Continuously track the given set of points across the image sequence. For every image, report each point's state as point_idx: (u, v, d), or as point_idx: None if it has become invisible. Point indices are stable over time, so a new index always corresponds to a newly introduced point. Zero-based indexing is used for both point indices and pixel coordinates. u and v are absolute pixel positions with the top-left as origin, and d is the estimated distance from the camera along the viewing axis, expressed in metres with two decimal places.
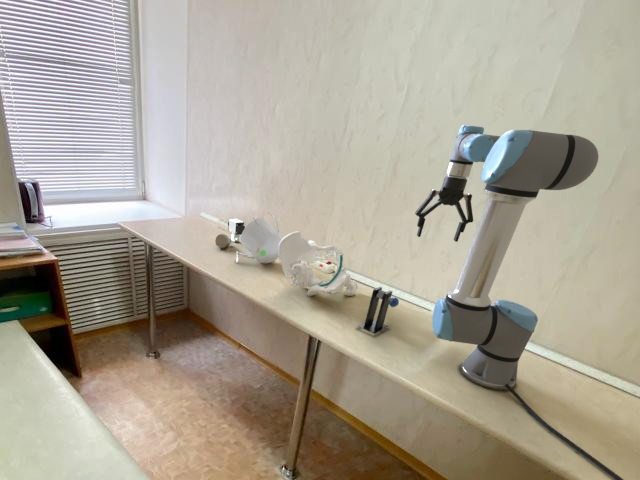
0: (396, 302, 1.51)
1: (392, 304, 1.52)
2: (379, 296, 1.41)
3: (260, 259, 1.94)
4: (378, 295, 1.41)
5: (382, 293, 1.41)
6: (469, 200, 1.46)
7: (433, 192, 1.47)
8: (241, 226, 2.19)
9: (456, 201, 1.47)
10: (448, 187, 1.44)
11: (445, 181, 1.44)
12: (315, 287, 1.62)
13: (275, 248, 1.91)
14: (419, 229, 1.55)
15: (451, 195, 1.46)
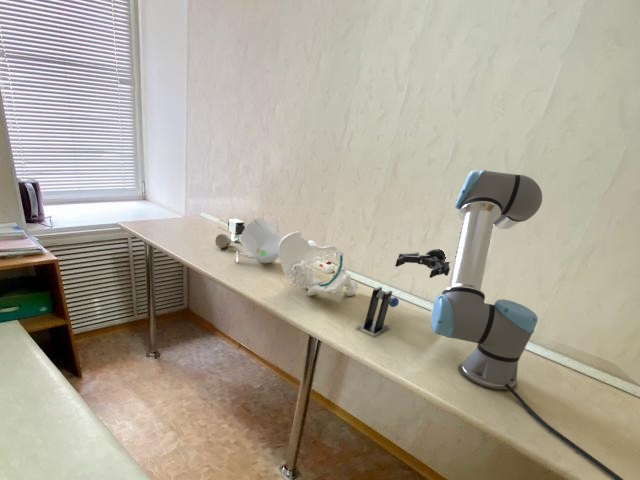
0: (396, 302, 1.51)
1: (392, 304, 1.52)
2: (379, 296, 1.41)
3: (260, 259, 1.94)
4: (378, 295, 1.41)
5: (382, 293, 1.41)
6: (447, 262, 1.58)
7: None
8: (241, 226, 2.19)
9: (435, 258, 1.60)
10: (430, 250, 1.64)
11: None
12: (315, 287, 1.62)
13: (275, 248, 1.91)
14: None
15: (431, 257, 1.62)
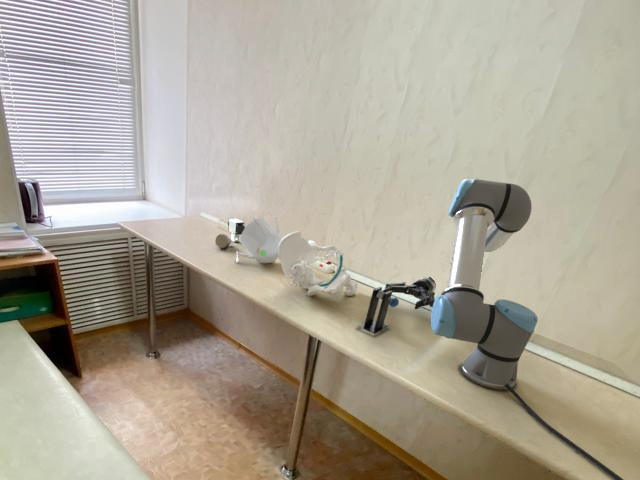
0: (396, 302, 1.51)
1: (392, 304, 1.52)
2: (379, 296, 1.41)
3: (260, 259, 1.94)
4: (378, 295, 1.41)
5: (382, 293, 1.41)
6: (432, 293, 1.61)
7: (403, 282, 1.69)
8: (241, 226, 2.19)
9: (421, 289, 1.63)
10: None
11: None
12: (315, 287, 1.62)
13: (275, 248, 1.91)
14: None
15: (418, 288, 1.65)
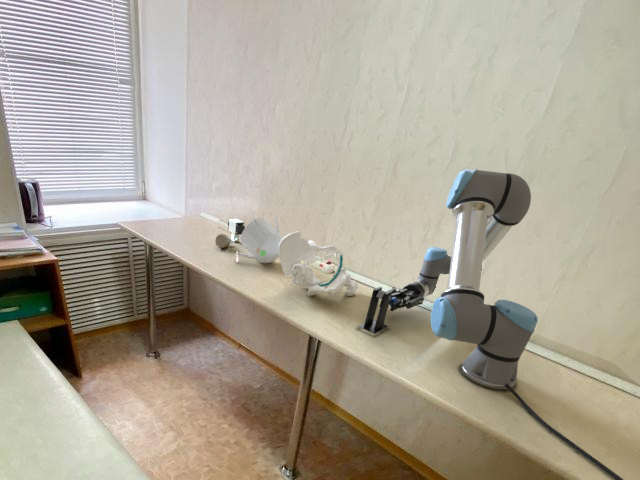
0: None
1: None
2: (379, 296, 1.41)
3: (260, 259, 1.94)
4: (378, 295, 1.41)
5: (382, 293, 1.41)
6: (419, 298, 1.55)
7: (393, 287, 1.62)
8: (241, 226, 2.19)
9: (410, 292, 1.58)
10: None
11: None
12: (315, 287, 1.62)
13: (275, 248, 1.91)
14: None
15: (409, 292, 1.60)
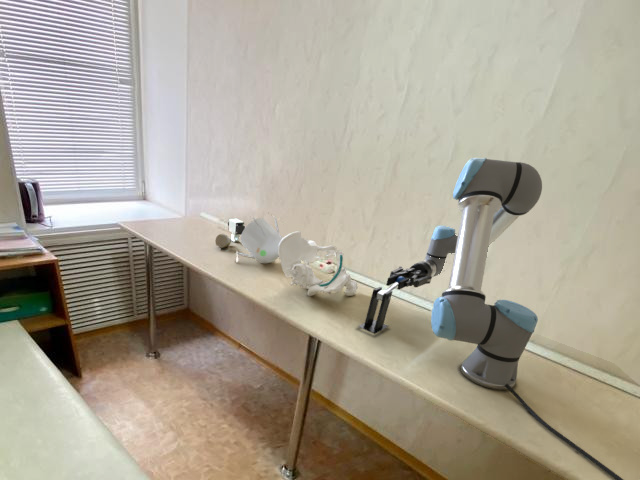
0: None
1: None
2: (379, 298, 1.42)
3: (260, 259, 1.94)
4: (378, 297, 1.42)
5: (381, 295, 1.41)
6: (427, 276, 1.51)
7: (400, 267, 1.58)
8: (241, 226, 2.19)
9: (418, 271, 1.54)
10: (414, 264, 1.58)
11: None
12: (315, 287, 1.62)
13: (275, 248, 1.91)
14: None
15: (416, 271, 1.56)
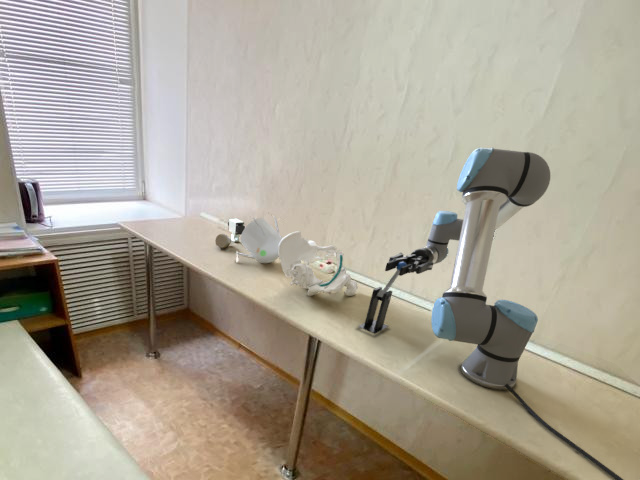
0: None
1: None
2: (379, 299, 1.42)
3: (260, 259, 1.94)
4: (378, 298, 1.43)
5: (380, 298, 1.41)
6: (429, 263, 1.46)
7: (400, 253, 1.53)
8: (241, 226, 2.19)
9: (419, 258, 1.49)
10: (415, 250, 1.53)
11: None
12: (315, 287, 1.62)
13: (275, 248, 1.91)
14: None
15: (417, 257, 1.51)
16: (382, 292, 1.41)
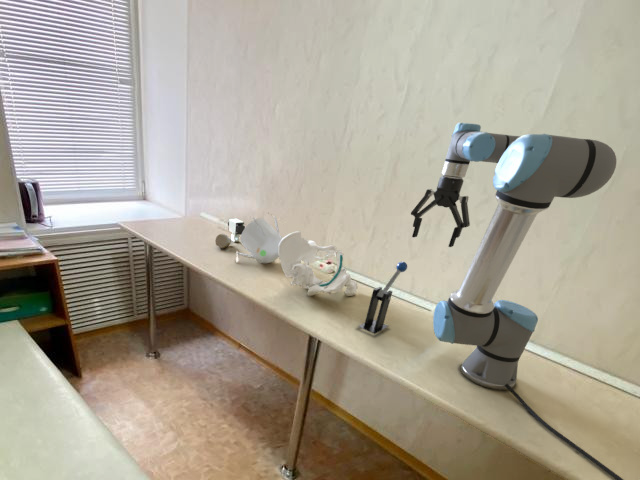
0: (404, 269, 1.43)
1: None
2: (379, 299, 1.42)
3: (260, 259, 1.94)
4: (378, 298, 1.43)
5: (380, 298, 1.41)
6: (463, 203, 1.37)
7: (427, 191, 1.43)
8: (241, 226, 2.19)
9: (448, 202, 1.39)
10: (438, 186, 1.39)
11: (439, 181, 1.40)
12: (315, 287, 1.62)
13: (275, 248, 1.91)
14: None
15: (445, 196, 1.40)
16: (382, 292, 1.41)
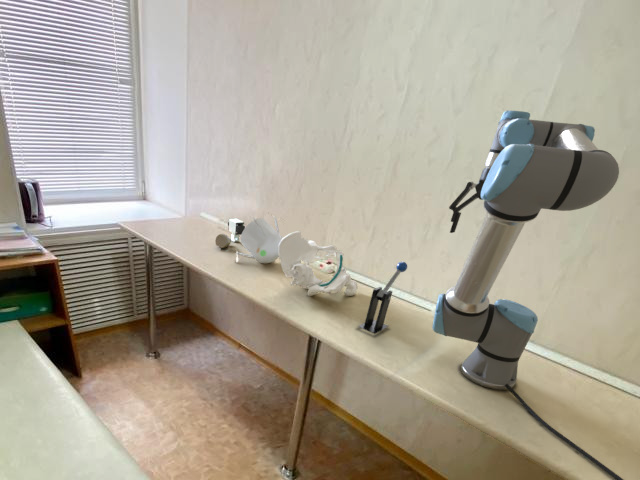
0: (404, 269, 1.43)
1: None
2: (379, 299, 1.42)
3: (260, 259, 1.94)
4: (378, 298, 1.43)
5: (380, 298, 1.41)
6: None
7: (468, 184, 1.36)
8: (241, 226, 2.19)
9: None
10: (482, 179, 1.31)
11: None
12: (315, 287, 1.62)
13: (275, 248, 1.91)
14: None
15: None
16: (382, 292, 1.41)
